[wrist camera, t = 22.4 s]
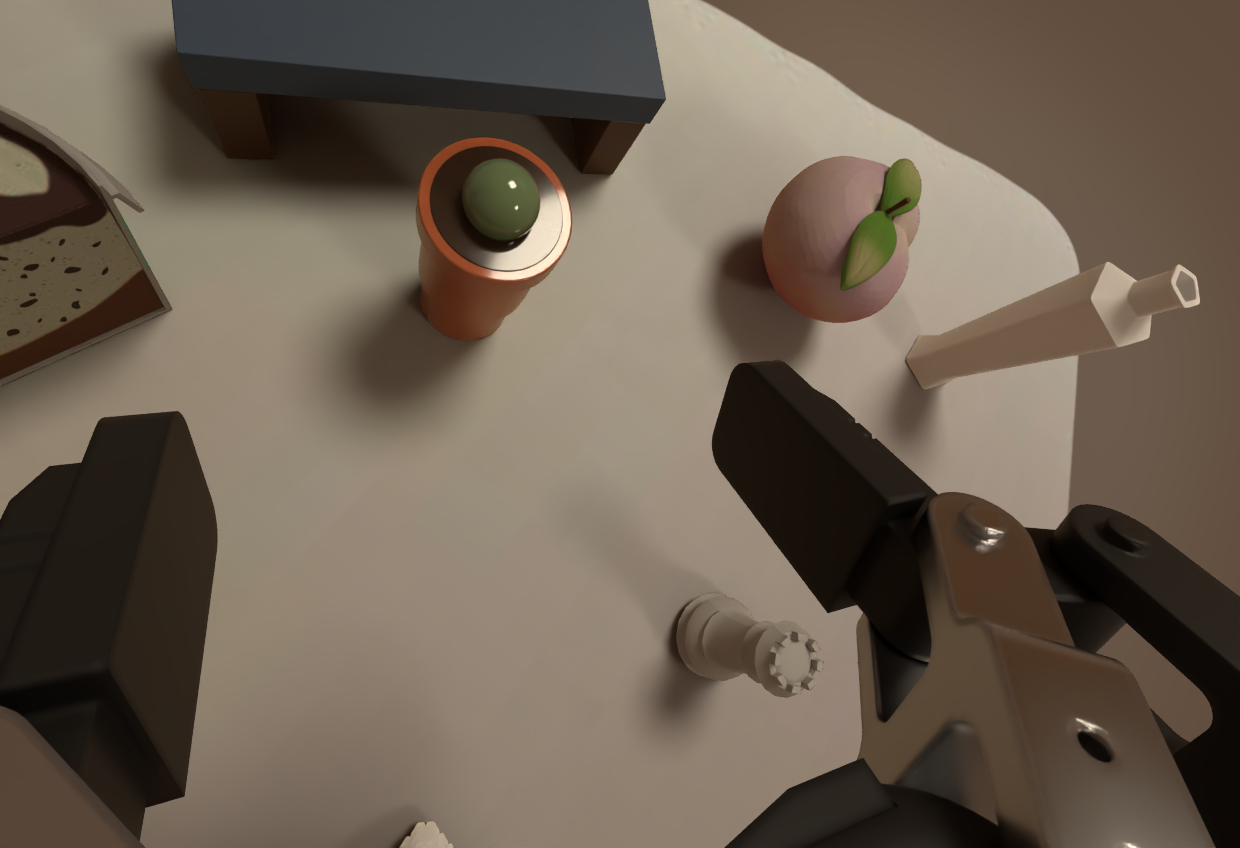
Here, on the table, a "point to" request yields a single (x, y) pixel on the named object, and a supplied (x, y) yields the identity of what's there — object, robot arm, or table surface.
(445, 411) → the table surface
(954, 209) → the table surface
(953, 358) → the perfume bottle
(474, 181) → the pot
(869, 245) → the decorative fruit
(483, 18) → the dark blue bench
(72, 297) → the wedge shaped tart
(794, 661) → the rook chess piece
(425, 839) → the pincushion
